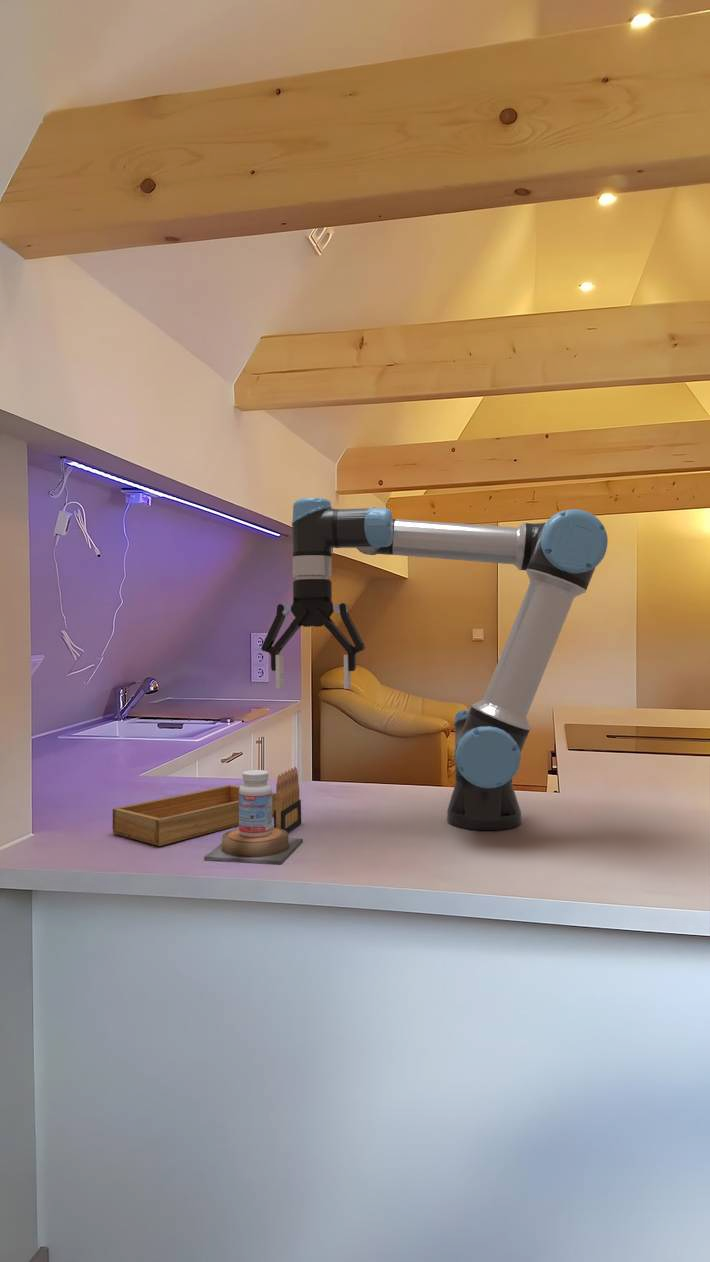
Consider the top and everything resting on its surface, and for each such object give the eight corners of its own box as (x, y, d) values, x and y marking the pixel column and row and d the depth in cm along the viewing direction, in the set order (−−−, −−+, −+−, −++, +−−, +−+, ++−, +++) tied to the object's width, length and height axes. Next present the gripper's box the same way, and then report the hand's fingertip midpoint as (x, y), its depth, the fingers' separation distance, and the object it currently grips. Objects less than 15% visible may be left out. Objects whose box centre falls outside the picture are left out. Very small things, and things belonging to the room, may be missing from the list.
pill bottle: (234, 837, 139) (233, 775, 139) (245, 828, 145) (244, 768, 145) (267, 838, 138) (266, 775, 138) (276, 829, 144) (275, 769, 144)
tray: (230, 807, 177) (229, 782, 177) (277, 817, 167) (277, 791, 167) (112, 837, 153) (111, 808, 153) (159, 850, 144) (158, 820, 144)
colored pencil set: (282, 837, 150) (281, 775, 150) (273, 836, 151) (273, 775, 151) (301, 823, 160) (301, 765, 160) (293, 823, 161) (292, 765, 161)
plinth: (302, 841, 147) (302, 825, 147) (280, 864, 133) (280, 846, 133) (232, 838, 150) (232, 822, 150) (204, 860, 136) (204, 842, 136)
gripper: (378, 578, 152) (379, 686, 152) (257, 581, 157) (258, 685, 158) (371, 576, 145) (372, 690, 145) (244, 579, 150) (245, 689, 150)
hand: (313, 688), depth 151 cm, fingers open, 13 cm apart
